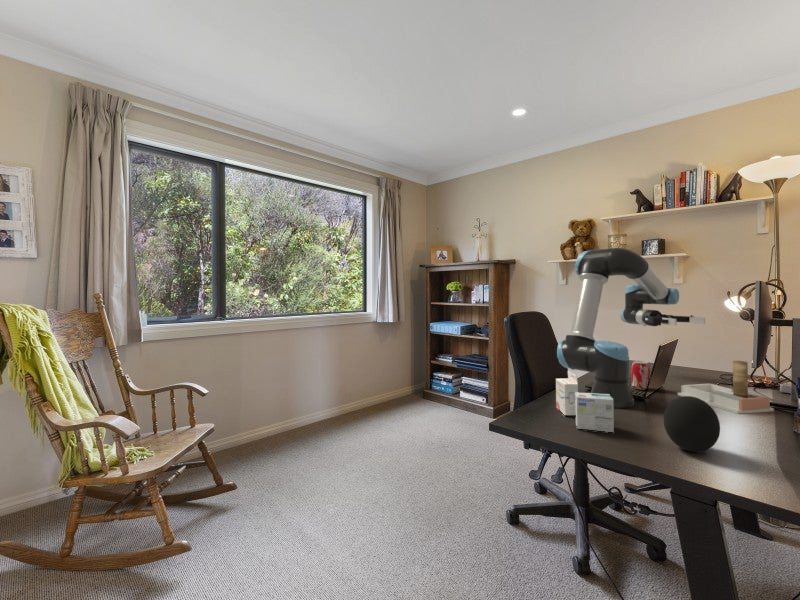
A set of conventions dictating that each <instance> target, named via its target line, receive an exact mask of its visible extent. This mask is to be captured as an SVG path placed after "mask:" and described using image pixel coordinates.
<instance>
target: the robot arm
mask: <svg viewBox="0 0 800 600" xmlns="http://www.w3.org/2000/svg"><path fill="white" fill-rule="evenodd" d="M574 267H575V272H576V274H577V276H578V279H579V280H580V287H579V292H578V297H577V302H576V307H575V310H574V311H575V312H574V315H573V320H572V326H571V330H570V332H569V333H567V334H566V335H565V339H563V340H561V341H560V342H559V343H558V344H557V348H556V357H557V359H558V362H559V364H560V365H561V366H562V367H563V368H566V369H570V370H577V371H582V372H587V373H593V374H594V381H593V382H594V383H593V384H592V388H591V391H590V393H596V394H610V396H611V397H612V398H613V404H614V408H618V409H619V408H620V409H622V408H623V409H624V408H631V407H633V406H634V405H635V399H634V396H633V392H632V391H631V387H630V383H629V381H630V380H629V379H630V378H629V376H630V375H629V374H630V373H629V371H630V370H629V369H630V368H629V367H630V366H629V365H630V364H629V363H630V362H629V361H630V357H629V349H628V347H627V346H626V345H624V344H623V343H622V344H621V343H619V342H615V341H609V340H608V341H606V340H596V339H595V337H594V333H595V328H596V327H595V326H596V322H597V317H598V312H599V307H600V303H601V297H602V291H603V287H604V285H605V284H607V283H608V281H609V277H612V276H625V277H626V278H628V279H631V280H633V281H634V282H635V283H636V284H627V285H626V286H625V292H624V301H625V303H624V304H625V307H624V308H623V309H622V310H621V311H620V313H619V315H620V316H619V317H620V319H621V321H623V323H627V324H632V325H643V327H647V326H651V327H658V326H662V325H668V326H669V325H670V326H677V323H690V324H694V325H695V324H697V325H706V317H701V316H698V317H697V316H694V315H692V314H690V316H686V315H683V316H682V315H673V314H663V313H662V312H661V311H659V310H655V309H648V308H647V309H645V308H644V305H667V306H669V305H677V304H678V302H679V300H680V292H679V290H678V289H677V288H672V287H671V288H668V287H667V286H666V284H664V282H662V280H661V279H660V278H659V277H658V276H657V275H656V274H655V273H654V272H653V271H652V270H651V268H650V267H649V263H648V261H647V260H646V259H645V258H644V257H642V255H640V254H639V253H637V252H634V251H632V250H630V249H627V248H623V247H612V248H603V249H602V248H601V249H590V250H585V251H582V252H580V254H579V255H578V256H577V257H576V261H575V266H574Z"/></svg>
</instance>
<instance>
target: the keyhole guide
mask: <svg viewBox="0 0 800 600" xmlns="http://www.w3.org/2000/svg"><path fill="white" fill-rule="evenodd" d="M680 389H681V392H677V396H679V397H682V396H692V397H696V398H699V399H701V400H703V401H705V402H706V403H707V404H708V405H710V406H711V407H715V408H718V409H721V410H724V411H727V412H730V413H734V414H736V415H740V414H741V415H742V414H754V413H764V412H766V413H767V412H774V411H775V408H773V407H771V406H770V404H771V403H770V402H771V397H769V396H765V395H762V394H757V393H753V392H749V391H748V398H743V397H739V396H736V395H733V388H729V387H725V386H722V385H717V384H714V383H699V384H697V383H696V384H683V385H681V387H680Z"/></svg>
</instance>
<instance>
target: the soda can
mask: <svg viewBox="0 0 800 600" xmlns="http://www.w3.org/2000/svg"><path fill="white" fill-rule="evenodd" d="M630 370H631V371H630V372H631V373H630V375H631V377H630V378H631V379H630V380H631V382H630V383H631V387H632V386H636V387H641V388H645V387H646V386H647V383H648V380H649V377H650V378H651V366H650V364H649V361H644V360H633V361H632V364H631V369H630Z"/></svg>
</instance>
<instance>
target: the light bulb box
mask: <svg viewBox="0 0 800 600" xmlns="http://www.w3.org/2000/svg"><path fill="white" fill-rule="evenodd" d="M614 409H615V407H614V404H613V398H612V397H611V396H610V394H596V393H591V392H579V391H578V392H575V412H576V417H575V426H577V427H576V429H577V428H578V429H588V430H597V431H605V432H604V433H608V432H613V433H612V434H614V433H615V429H614V428H615V426H614V425H615V418H614V417H615V416H614V414H615V412H614V411H615V410H614ZM597 431H596V432H597Z"/></svg>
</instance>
